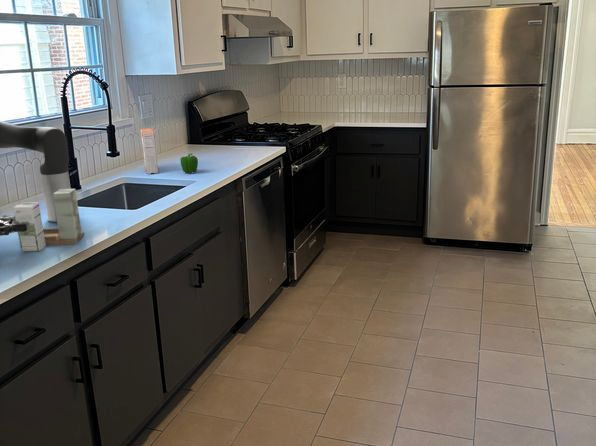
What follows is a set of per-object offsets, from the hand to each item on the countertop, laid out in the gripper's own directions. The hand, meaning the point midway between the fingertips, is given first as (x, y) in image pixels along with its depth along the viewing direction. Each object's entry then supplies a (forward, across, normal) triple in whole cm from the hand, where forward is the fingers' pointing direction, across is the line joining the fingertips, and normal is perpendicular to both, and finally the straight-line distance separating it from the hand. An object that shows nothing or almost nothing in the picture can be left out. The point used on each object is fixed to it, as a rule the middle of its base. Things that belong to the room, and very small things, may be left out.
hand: (31, 223), depth 179 cm
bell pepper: (+42, +106, +9) cm, 114 cm away
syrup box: (0, 0, +8) cm, 9 cm away
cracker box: (+23, +113, +9) cm, 116 cm away
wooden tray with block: (+5, +8, +8) cm, 12 cm away
